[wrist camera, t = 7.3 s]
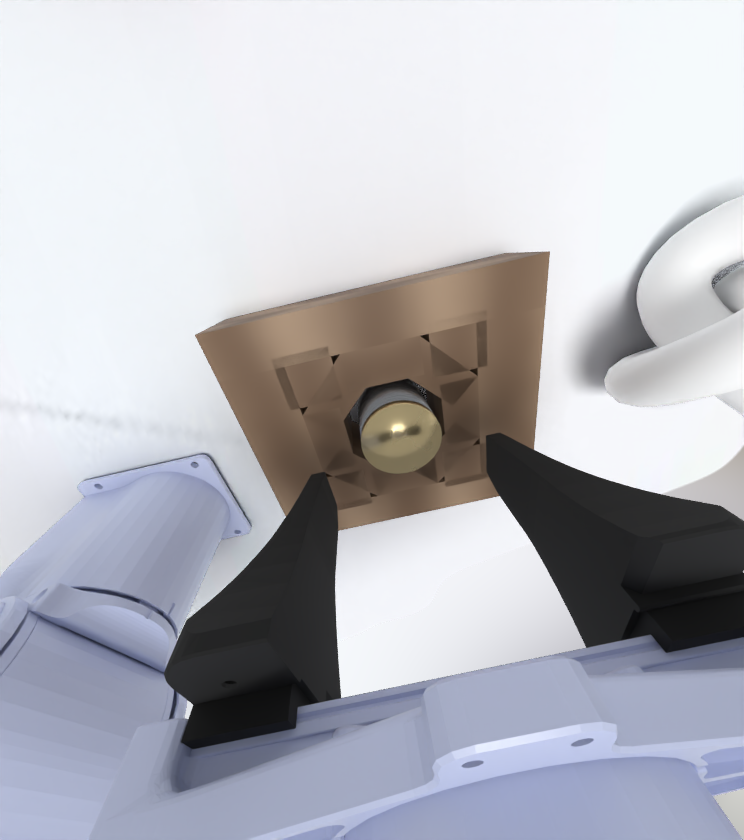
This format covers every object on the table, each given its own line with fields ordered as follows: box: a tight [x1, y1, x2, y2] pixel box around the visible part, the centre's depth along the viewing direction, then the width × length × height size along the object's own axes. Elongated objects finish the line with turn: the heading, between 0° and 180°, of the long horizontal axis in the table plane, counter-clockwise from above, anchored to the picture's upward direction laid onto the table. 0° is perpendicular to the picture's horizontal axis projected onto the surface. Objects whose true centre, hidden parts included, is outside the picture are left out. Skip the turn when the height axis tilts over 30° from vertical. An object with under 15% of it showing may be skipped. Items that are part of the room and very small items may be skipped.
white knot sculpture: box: [604, 195, 744, 417], centre depth 15 cm, size 11×12×9 cm
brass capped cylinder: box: [357, 378, 442, 474], centre depth 17 cm, size 4×4×6 cm
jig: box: [195, 252, 550, 531], centre depth 18 cm, size 16×14×4 cm
